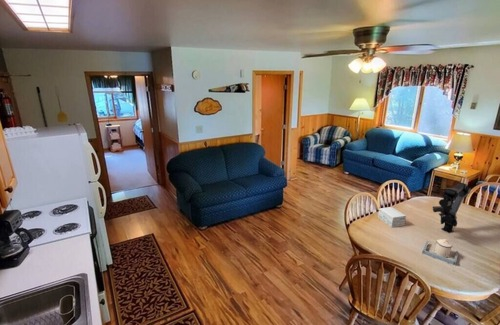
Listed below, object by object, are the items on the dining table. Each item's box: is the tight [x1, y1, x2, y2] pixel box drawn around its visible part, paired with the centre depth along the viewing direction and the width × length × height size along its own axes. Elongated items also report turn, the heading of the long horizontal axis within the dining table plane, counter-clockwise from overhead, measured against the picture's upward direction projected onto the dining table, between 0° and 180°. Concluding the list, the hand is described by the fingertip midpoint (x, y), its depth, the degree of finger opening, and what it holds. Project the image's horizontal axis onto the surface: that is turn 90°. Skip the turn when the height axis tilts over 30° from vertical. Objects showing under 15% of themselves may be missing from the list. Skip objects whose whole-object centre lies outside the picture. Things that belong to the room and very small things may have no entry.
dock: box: [421, 240, 459, 266], centre depth 190 cm, size 15×19×2 cm
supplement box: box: [377, 206, 407, 228], centre depth 231 cm, size 17×13×9 cm
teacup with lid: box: [434, 238, 453, 258], centre depth 190 cm, size 12×9×12 cm
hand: (441, 224), depth 206 cm, fingers closed
